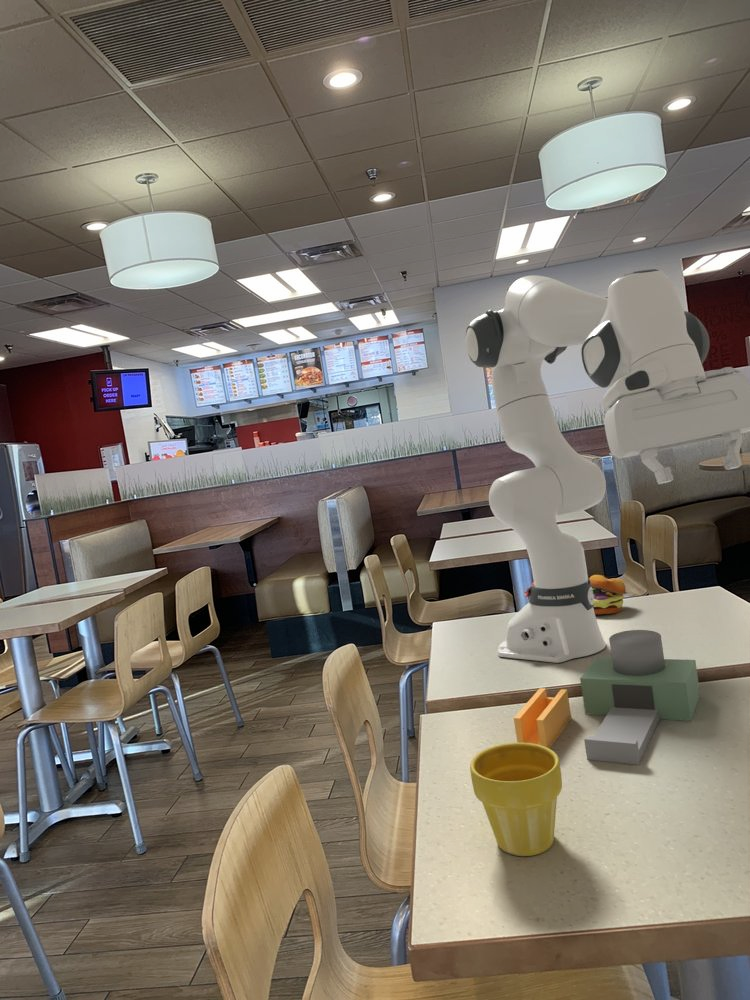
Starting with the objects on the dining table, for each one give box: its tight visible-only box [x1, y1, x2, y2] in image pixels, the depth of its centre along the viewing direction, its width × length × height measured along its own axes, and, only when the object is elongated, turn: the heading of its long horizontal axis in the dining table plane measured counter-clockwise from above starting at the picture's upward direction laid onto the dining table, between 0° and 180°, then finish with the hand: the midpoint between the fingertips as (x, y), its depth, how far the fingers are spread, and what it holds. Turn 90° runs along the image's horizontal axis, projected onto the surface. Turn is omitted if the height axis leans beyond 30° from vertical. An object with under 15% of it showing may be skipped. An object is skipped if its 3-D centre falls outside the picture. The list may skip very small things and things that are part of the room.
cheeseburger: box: [588, 574, 628, 616], centre depth 170 cm, size 10×11×10 cm
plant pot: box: [469, 742, 563, 857], centre depth 82 cm, size 10×10×10 cm
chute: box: [513, 687, 572, 749], centre depth 109 cm, size 5×12×5 cm, turn 147°
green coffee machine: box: [579, 629, 701, 766], centre depth 107 cm, size 16×25×11 cm, turn 147°
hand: (700, 475), depth 92 cm, fingers open, 8 cm apart
